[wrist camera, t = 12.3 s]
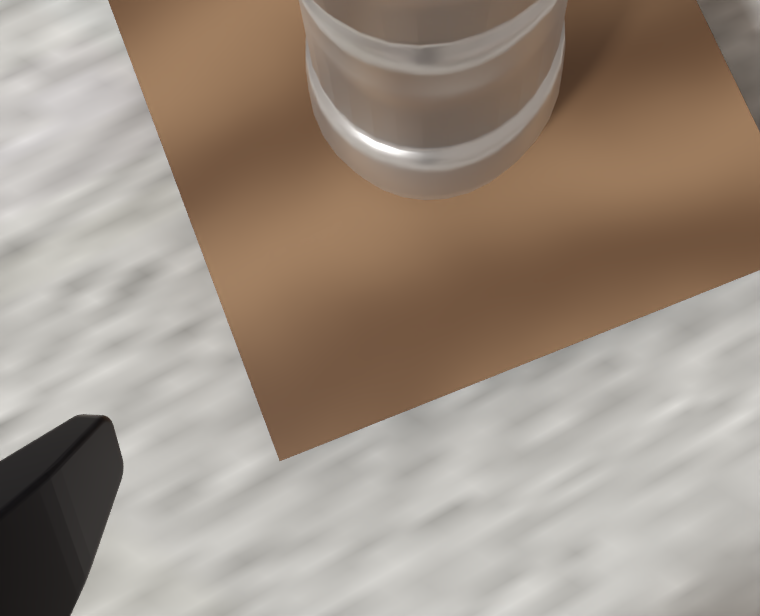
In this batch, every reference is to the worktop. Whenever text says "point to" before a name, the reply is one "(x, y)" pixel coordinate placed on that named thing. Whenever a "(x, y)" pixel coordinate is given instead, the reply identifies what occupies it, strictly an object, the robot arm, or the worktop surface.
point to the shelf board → (444, 208)
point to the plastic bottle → (433, 86)
